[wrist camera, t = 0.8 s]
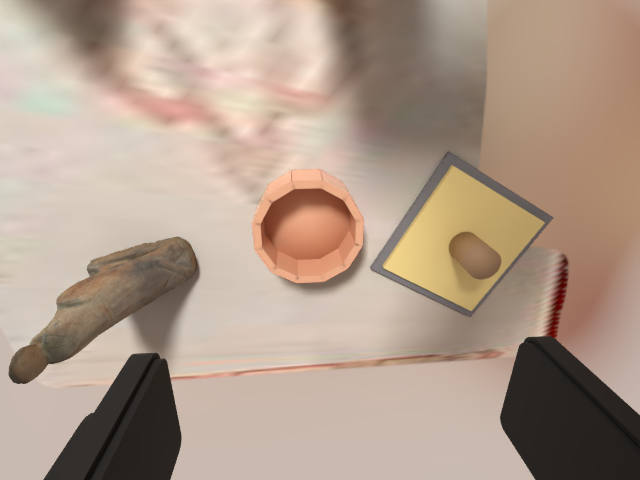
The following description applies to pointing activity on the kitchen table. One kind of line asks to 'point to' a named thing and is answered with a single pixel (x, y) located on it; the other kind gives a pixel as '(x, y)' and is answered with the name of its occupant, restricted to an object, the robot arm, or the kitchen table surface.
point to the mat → (420, 202)
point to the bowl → (307, 226)
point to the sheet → (455, 218)
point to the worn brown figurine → (105, 301)
